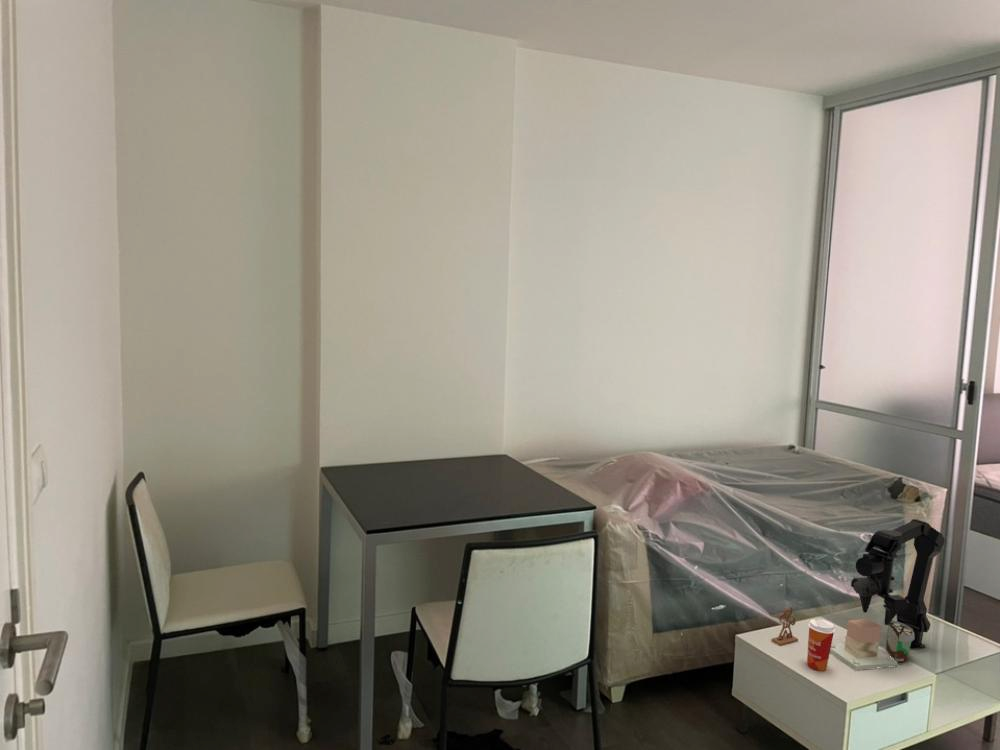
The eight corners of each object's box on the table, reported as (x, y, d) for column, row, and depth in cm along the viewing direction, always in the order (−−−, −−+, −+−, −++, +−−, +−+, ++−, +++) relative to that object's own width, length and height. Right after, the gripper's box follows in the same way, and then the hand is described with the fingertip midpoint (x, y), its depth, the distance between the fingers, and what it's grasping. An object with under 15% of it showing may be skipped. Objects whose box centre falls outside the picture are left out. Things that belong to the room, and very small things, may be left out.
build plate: (864, 645, 255) (865, 639, 255) (897, 666, 242) (898, 659, 242) (824, 649, 251) (825, 642, 251) (855, 670, 238) (856, 663, 237)
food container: (916, 668, 242) (921, 638, 241) (895, 665, 243) (899, 635, 242) (904, 650, 254) (908, 622, 253) (884, 647, 255) (888, 619, 254)
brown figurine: (788, 636, 258) (792, 602, 257) (798, 641, 255) (802, 607, 254) (770, 641, 254) (775, 606, 252) (780, 646, 251) (784, 611, 249)
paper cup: (798, 660, 242) (804, 617, 240) (822, 660, 242) (827, 618, 241) (810, 672, 234) (816, 628, 232) (835, 673, 235) (840, 629, 233)
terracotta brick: (867, 633, 250) (869, 619, 249) (879, 641, 244) (881, 626, 244) (846, 635, 247) (848, 620, 247) (858, 643, 242) (860, 628, 241)
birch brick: (864, 648, 250) (866, 633, 250) (877, 656, 245) (879, 641, 244) (844, 650, 248) (846, 635, 247) (856, 658, 243) (858, 643, 242)
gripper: (840, 561, 251) (834, 607, 253) (883, 584, 233) (876, 633, 235) (868, 560, 254) (862, 605, 256) (912, 582, 236) (906, 631, 238)
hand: (875, 618), depth 246 cm, fingers open, 9 cm apart
